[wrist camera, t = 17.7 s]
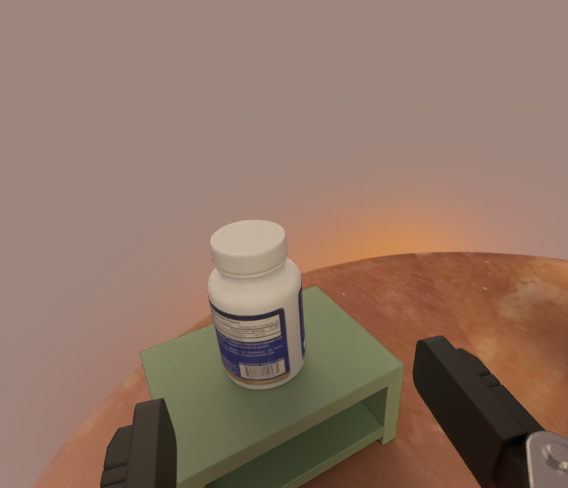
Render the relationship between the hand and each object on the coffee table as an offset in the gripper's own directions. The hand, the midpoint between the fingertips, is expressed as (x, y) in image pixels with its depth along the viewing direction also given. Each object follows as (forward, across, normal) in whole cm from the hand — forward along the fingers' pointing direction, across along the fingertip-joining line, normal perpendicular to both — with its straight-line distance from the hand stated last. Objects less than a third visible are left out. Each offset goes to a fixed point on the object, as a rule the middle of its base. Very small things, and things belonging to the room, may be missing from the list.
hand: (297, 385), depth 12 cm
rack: (+10, 0, +15) cm, 18 cm away
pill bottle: (+10, 0, +8) cm, 13 cm away
